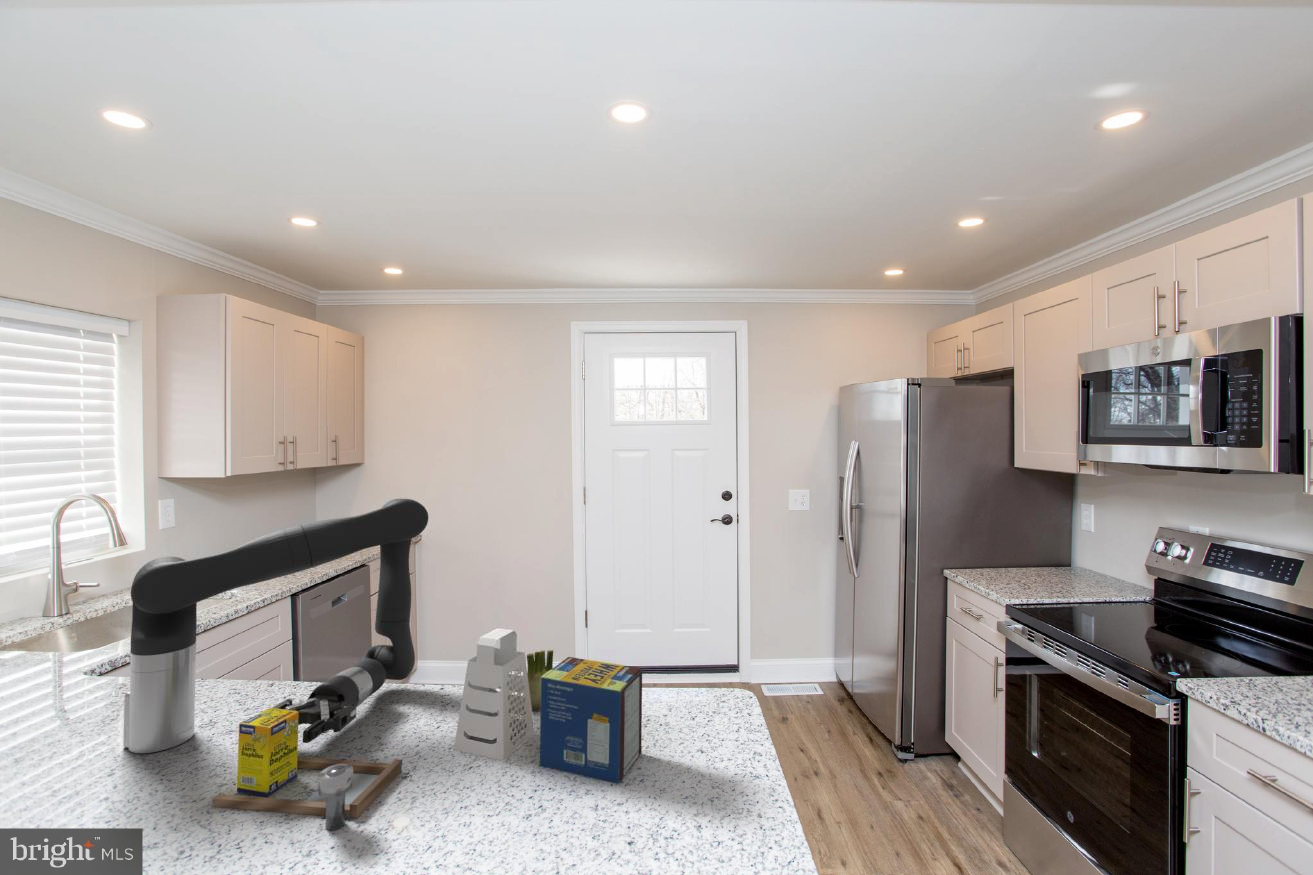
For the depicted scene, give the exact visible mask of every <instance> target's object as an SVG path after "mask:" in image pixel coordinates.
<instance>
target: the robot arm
mask: <svg viewBox="0 0 1313 875" xmlns="http://www.w3.org/2000/svg"><path fill="white" fill-rule="evenodd" d="M428 522H429V513H428V511H427V509H426V507H425V506H424V505H423V504H421V503H420V502H418V501H416V500H415V499H410V498H395V499H391V500H389V501H387V502H385V504H383V505H382V507H381V508H378V509H374V510H372V511H369V512H365V513H362V514H358V515H355V516H348V517H347V516H346V517H338V518H331V519H323V520H317V521H312V522H307V523H302V524H301V523H300V524H298V525H293V526H290V527H286V528H283V529H278V530H276V531H272V532H270V533H267V534H264V535H262V536H259V537H257V538H254V539H252V540H250V541H248V542H245V543H244V544H241V545H239V546H237V547H234V548H231V549H229V550H226V551H223V552H219V553H216V554H212V555H206V556H203V557H202V556H201V557H198V558H192V559H184V558H182V557H178V556H171V555H170V556H161V557H158V558H154V559H151V560H150V561H148V562H147V563H145V564H144V565H143V566H142V567H141V568H140V569H139V570H138V571H137V572H136V574H135V575H134V578H133V581H132V584H131V588H130V598H131V601H132V608H131V609H132V612H131V613H132V617H131V618H132V619H131V632H130V633H131V634H130V659H129V660H130V662H129V664H130V667H129V670H130V674H129V676H130V677H129V691H128V692H126V693H125V694H124V696H123V697H124V702H123V703H124V704H123V705H124V706H123V707H124V708H123V748H128V751H129V752H131V753H134V754H150V753H151V754H152V753H155V752H161V751H164V750H169V749H171V748H174V747H177V746H179V745H182V744H183V743H185V742H187V741H188V740H190V739H191V738H192V737H193V736H194V734H195V711H196V707H195V706H196V674H197V673H196V672H197V671H196V668H197V667H196V664H197V663H196V661H197V658H196V657H197V630H198V628H197V627H198V625H197V624H198V621H197V615H198V613H197V609H198V608H197V603H199V602H202V601H203V600H206V599H209V598H213V597H215V596H217V595H221V594H223V593H225V592H229V591H231V590H235V589H238V588H242V587H247V586H250V585H254V584H259V583H264V582H267V581H271V580H275V579H277V578H278V579H279V578H281V577H285V576H289V575H293V574H296V573H300V572H303V571H307V570H310V569H313V568H317V567H319V566H321V565H325V564H328V563H330V562H333V561H336V560H339V559H341V558H342V559H343V558H344V557H346V556H349V555H352V554H355V553H357V552H360V551H362V550H366V549H370V548H374V547H377V546H379V552H380V553H379V554H380V558H379V560H380V562H379V563H380V564H379V581H378V592H377V600H376V612H375V622H374V631H375V633H376V634H378V635H380V636H383V637H386V638H387V639H389V640H390V642H391V644H392V645H391V644H389V645H388V644H377V645H373V646H371V647H369V648H368V649H367V650H366V651H365V652H364V654H363V655H362V657H361V658H360V659H359V660H358V661H357V663H356V664H354V665H353V666H351V667H349V668H347V669H345V670H342V671H340V672H338V673H337V674H335V675H334V676H332V677H331V678H329V679H327V680H326V681H324V682H322V683H321V684H318V686H316V687H315V688H314V689H313V690H312V692H311V693H310V694H309V696H308V698H307V699H305V700H303V701H299V702H298V703H293V699H292V698H288V699H285V700H283V701H281V702H280V703H278V704H276V705H274V706H272V707H271V708H277V709H284V710H292V711H298V712H299V717H298V726H299V725H303V724H305V725H308V726H307V727H306V728H304V729H303V731H302V743H304V744H309V743H310V742H312V741H314V740H315V739H317V738H319V736H321V735H322V734H327V733H329V732H330V731H331V730H332V731H333V733H339V732H341V731H342V730H344V728H346V727H347V726H348V725H350V723H351V722H353V721H354V720H355V719H356V718H357V708H358V707H360V705H362V704H363V703H364V701H366V700H367V699H368V698H369V697H371V696H372V695H374V693H376V692H377V691H378V690H380V689H381V687H383V685H384V683H385V682H386V680H391V681H402V680H406V679H407V678H408V677H409V676H410V675H411V673H412V671H413V670H414V667H415V662H416V655H415V653H416V652H415V649H414V645H413V640H412V634H411V633H412V632H411V627H410V621H411V620H410V619H411V609H412V583H411V574H410V551H411V550H410V549H411V546H412V541H413V540H412V539H414V538H416V537H418V536H420V535H421V533H423V531H425V529H426V527H427V525H428Z"/></svg>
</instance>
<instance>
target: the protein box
mask: <svg viewBox="0 0 1313 875" xmlns="http://www.w3.org/2000/svg"><path fill="white" fill-rule="evenodd" d="M642 706H643V668H642V667H638V666H630V665H624V664H618V663H617V664H616V663H611V662H610V663H609V662H603V661H598V660H591V659H585V658H579V657H571V656H568V657H566V658H565V659H564V660H562V661H561V662H559V663H558V664H556V666H554V667H553V668H552V669H551V670H550V671H548V672H547V673H545V674H544V675H542V676H541V710H540V713H539V714H540V719H539V721H540V722H539V724H540V725H539V762H538V763H539V764H538V766H541V767H544V768H545V767H546V768H549V769H553V770H558V771H562V772H567V773H571V774H575V775H580V776H583V777H588V778H592V779H596V780H600V781H605V782H608V783H611V784H612V783H613V784H620V783H621V782H622V780H624V777H625V776H626V775H627V773H628V772H629V771H630V769H631V768H632V766H633V765H634V764H635V762H636V761H637V760H638V758H639V757H640V756H641V755H642V753H643V752H642V746H643V744H642V735H643V734H642V728H643V727H642V726H643V725H642V724H643V723H642V722H643V720H642V719H643V716H642V714H643V707H642Z"/></svg>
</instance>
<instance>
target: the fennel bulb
mask: <svg viewBox="0 0 1313 875" xmlns="http://www.w3.org/2000/svg"><path fill="white" fill-rule="evenodd" d="M545 652H546V653H545ZM553 659H554V650H553V649H548V650H547V651H546V650H544V649H543V650H539V651H535V652H534V653H533V652H531V653H528V654H526V667H527V675H528V683H529V691H530V699H531V707H532V711H541V676H542V675H544V674H545V673H547V672H548V671H550V670H551V669H552V668H554V667H553V666H554V663H553V662H554V660H553Z"/></svg>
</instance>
